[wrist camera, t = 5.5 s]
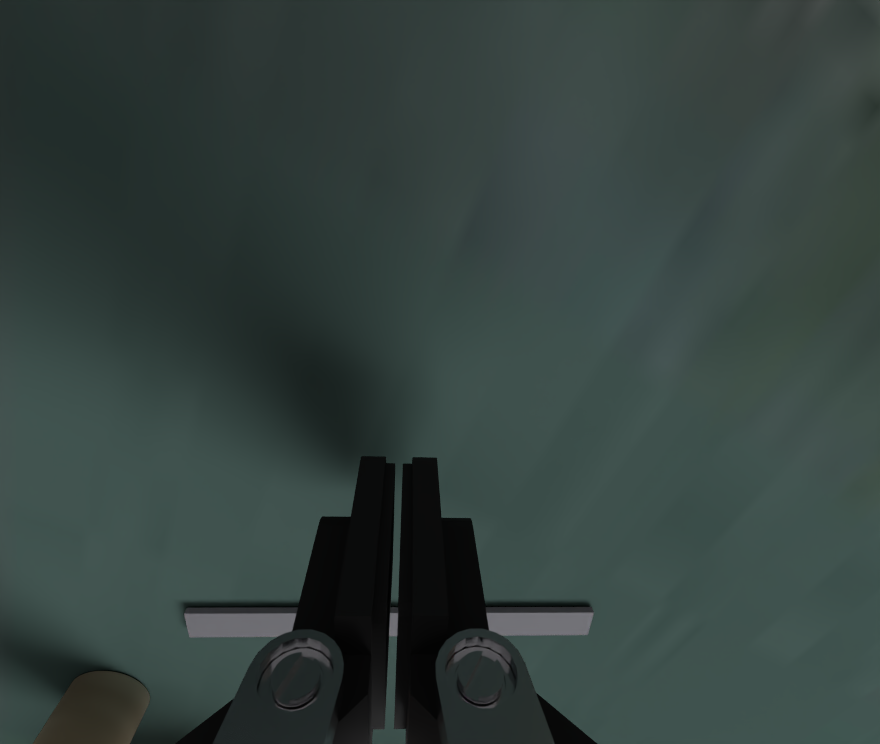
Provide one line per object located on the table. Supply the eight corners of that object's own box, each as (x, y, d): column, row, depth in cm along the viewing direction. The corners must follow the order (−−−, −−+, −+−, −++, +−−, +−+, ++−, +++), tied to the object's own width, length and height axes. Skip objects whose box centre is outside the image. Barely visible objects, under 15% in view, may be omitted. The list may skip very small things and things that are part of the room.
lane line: (591, 606, 15) (593, 612, 15) (585, 629, 15) (587, 634, 15) (186, 607, 14) (183, 613, 14) (192, 631, 14) (189, 637, 14)
